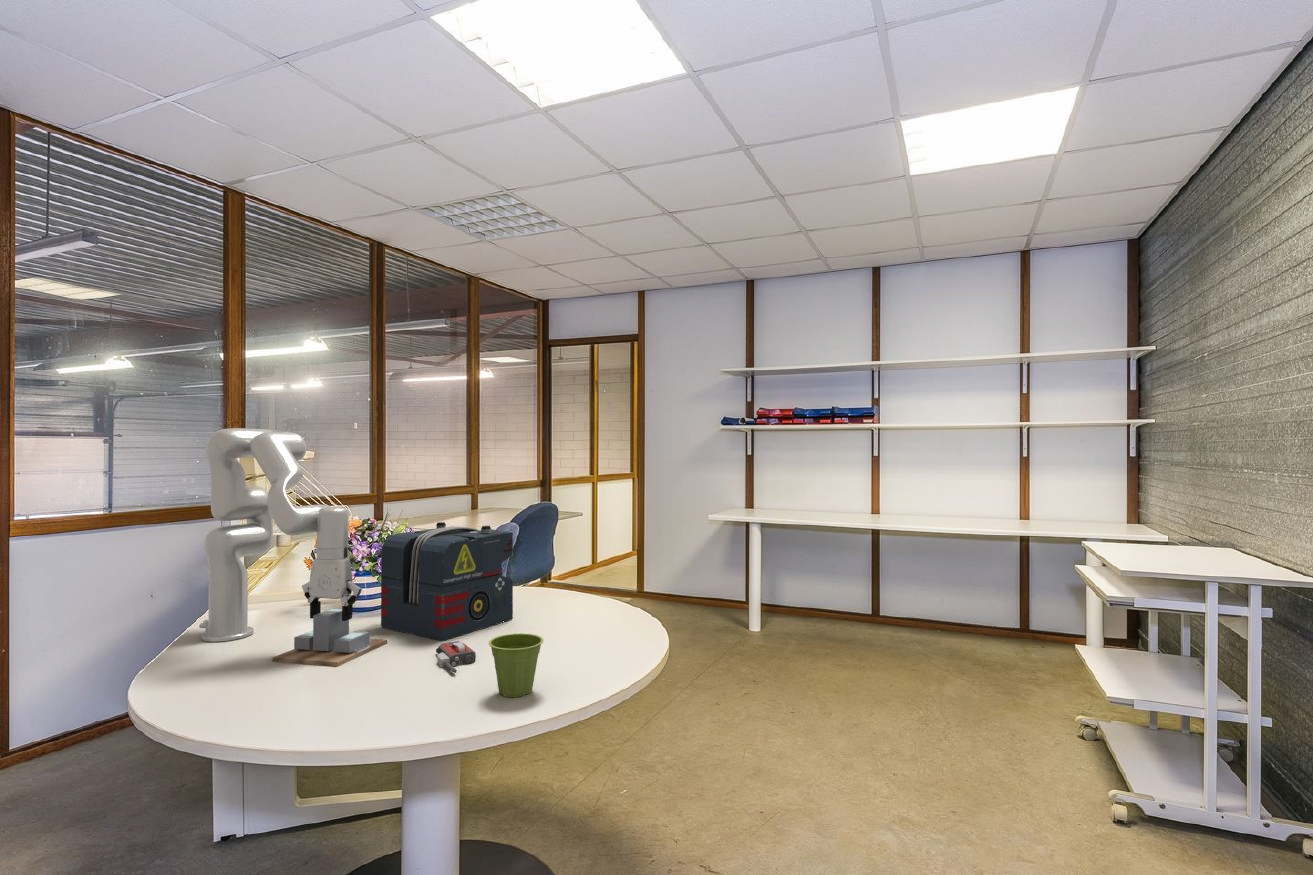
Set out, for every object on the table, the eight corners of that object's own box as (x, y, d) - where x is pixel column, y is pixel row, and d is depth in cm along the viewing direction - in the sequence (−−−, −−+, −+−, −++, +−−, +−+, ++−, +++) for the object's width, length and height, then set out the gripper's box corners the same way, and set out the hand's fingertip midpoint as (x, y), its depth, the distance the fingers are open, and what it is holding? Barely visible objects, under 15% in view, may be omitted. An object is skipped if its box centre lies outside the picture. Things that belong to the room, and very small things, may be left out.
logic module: (313, 650, 172) (313, 614, 172) (334, 641, 180) (334, 607, 180) (328, 651, 171) (328, 615, 171) (348, 642, 179) (349, 608, 179)
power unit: (442, 641, 185) (442, 533, 185) (380, 627, 199) (380, 527, 200) (513, 619, 208) (513, 523, 209) (453, 608, 223) (453, 519, 223)
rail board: (272, 661, 168) (272, 642, 168) (327, 639, 187) (327, 622, 187) (337, 666, 163) (337, 647, 164) (387, 643, 183) (387, 626, 183)
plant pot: (493, 705, 138) (493, 651, 138) (484, 687, 149) (484, 636, 149) (549, 697, 143) (549, 644, 143) (536, 679, 154) (536, 630, 154)
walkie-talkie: (427, 656, 172) (450, 678, 156) (428, 639, 172) (450, 659, 156) (461, 650, 177) (486, 671, 160) (461, 634, 177) (486, 653, 161)
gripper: (293, 554, 174) (292, 619, 174) (351, 557, 170) (350, 624, 170) (314, 550, 181) (313, 612, 181) (370, 553, 178) (368, 617, 177)
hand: (331, 618), depth 176 cm, fingers open, 9 cm apart
